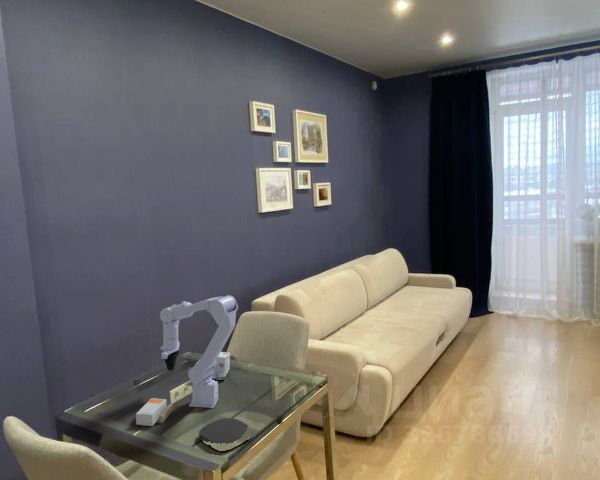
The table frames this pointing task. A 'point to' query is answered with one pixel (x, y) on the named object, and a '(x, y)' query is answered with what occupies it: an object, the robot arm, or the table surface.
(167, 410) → the cradle
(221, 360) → the light bulb box
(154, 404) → the skincare box
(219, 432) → the media streaming box
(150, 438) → the table surface
